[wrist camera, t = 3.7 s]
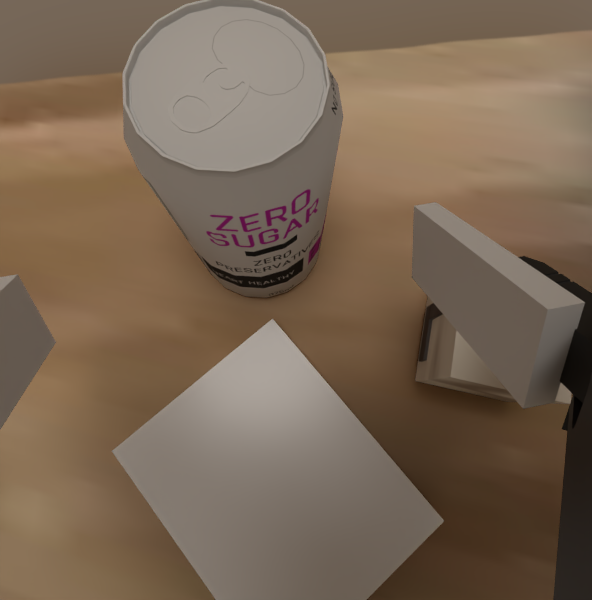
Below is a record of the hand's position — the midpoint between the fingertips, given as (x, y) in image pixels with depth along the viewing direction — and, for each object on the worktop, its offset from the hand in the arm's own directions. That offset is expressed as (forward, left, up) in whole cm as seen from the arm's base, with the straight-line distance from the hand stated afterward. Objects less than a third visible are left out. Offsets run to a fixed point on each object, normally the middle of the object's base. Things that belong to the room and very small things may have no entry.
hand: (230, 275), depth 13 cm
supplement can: (+5, -4, -13) cm, 15 cm away
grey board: (-8, +5, -13) cm, 16 cm away
